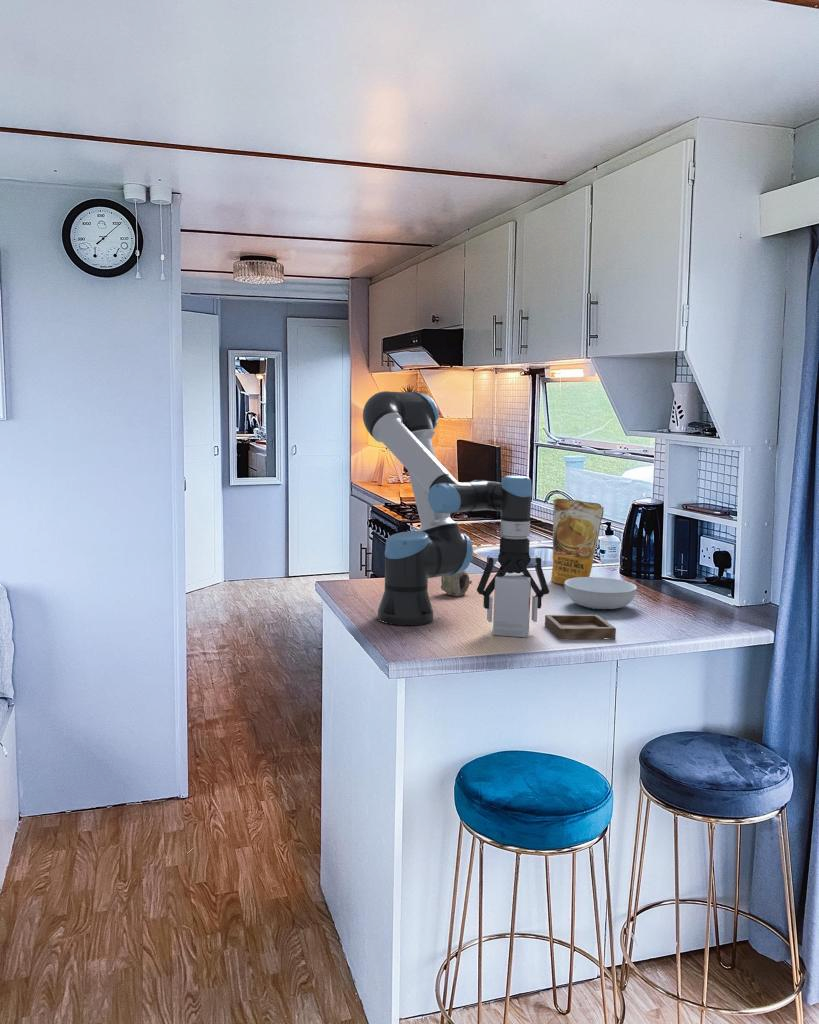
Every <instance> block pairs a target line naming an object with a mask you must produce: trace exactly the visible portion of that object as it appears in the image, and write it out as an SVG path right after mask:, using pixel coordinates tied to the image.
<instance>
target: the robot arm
mask: <svg viewBox="0 0 819 1024" xmlns="http://www.w3.org/2000/svg"><path fill="white" fill-rule="evenodd" d="M438 420H439V409H438V406H437V404H436V402H435V401H434V400H433V398H432V397H431V396H429V395H428V394H426V393H424V392H423V393H422V392H417V391H409V392H408V391H390V390H389V391H386V390H385V391H379V392H376V393H374V394H373V395H372V396H371V397H369V398H368V400H367V401H366V402H365V404H364V407H363V410H362V421H363V425H364V426H365V429H366V430H367V432H368V433H369V435H370V436H371V437H372V438H373V440H374V441H376V442H378V443H382V444H383V445H384V446H385V447H386V448H387V449H388V450H389V451H390V452H391V454H392V455H393V456H395V458H396V459H397V460H398V461H399V462H400V463H401V464H402V465H403V467H404V468H405V469H406V470H407V473H408V476H409V480H410V484H411V489H412V492H413V496H414V501H415V504H416V505H415V506H416V508H417V514H418V516H419V521H420V525H421V526H420V528H419V530H410V531H401V532H397V533H394V534H392V535H390V536H388V537H387V539H386V541H385V550H384V591H383V594H382V597H381V600H380V603H379V607H378V609H377V620H378V619H379V620H381V621H384V622H387V623H392V624H391V625H393V624H398V625H397V626H404V625H411V626H419V625H420V626H421V625H427V624H430V623H432V622H433V621H434V609H433V606H432V602H431V599H430V596H429V592H428V587H429V586H428V584H429V583H428V581H429V579H432V578H433V579H434V578H439V577H442V576H446V575H447V576H452V575H454V574H458V573H461V572H463V571H464V570H465V571H467V569H468V568H469V567H470V563H471V562H472V559H473V555H474V554H473V553H474V548H473V543H472V540H471V538H470V536H468V535H467V534H466V533H465V532H462V531H461V530H460V527H459V524H458V522H457V521H455V520H453V519H452V518H451V514H454V513H456V514H457V513H465V512H466V513H467V512H479V511H495V512H500V528H499V531H500V532H499V533H500V535H501V536H500V538H499V554H498V555H497V556H491V555H488V556H487V557H486V566H485V567H484V571H483V573H482V575H481V578H480V581H479V583H478V585H477V587H476V592H477V594H479V595H482V596H483V608H484V609H485V610H486V620H487V622H488V623H493V604H494V596H492V595H491V594H492V593H493V592H494V591H495V578H496V576H497V577H503V576H504V575H505V574H506V573H523V574H524V575H525V576H526V577H530V578H531V590H532V591H533V592H534V594H532V596H531V621H532V622H534V623H537V622H538V609H541V608H542V598H543V596H544V595H548V594H549V593H550V591H549V586H548V583H547V581H546V578H545V574H544V571H543V567H542V557H540V556H538V555H536V556H531V555H530V543H531V542H530V541H531V540H530V538H529V536H530V535H531V510H532V509H531V508H532V507H531V506H532V496H533V492H532V491H533V489H532V479H531V478H530V477H529V476H525V475H504V476H502V479H501V482H500V481H499V482H497V481H491V480H487V479H474V480H471V481H465V482H464V481H463V482H462V481H461V482H459V481H458V480H457V479H456V478H455V477H454V476H453V475H452V474H451V473H450V472H449V471H448V470H447V468H445V466H444V465H442V464H441V462H440V461H439V460H438V459H437V457H436V455H435V450H434V446H433V442H432V438H433V437H434V436H435V433H436V432H435V429H436V427H437V425H438V423H439V422H438ZM497 562H498V563H499V565H500V567H499V568H498V570H497V572H496V573H495V575H494V576H493V578H492V579H491V581H490V582H489V578H490V576H491V575H492V574H491V573H492V571H493V568H494V566H496V564H497ZM530 563H531V564H532V565H533V566H534V569H535V574H536V576H537V578H538V579H537V580H538V582H539V584H540V587H541V589H540V588H539V585H538V584H537V583H536V582H535V580H534V578H533V577H532V574H531V572H530V571H529V570H528V568H527V567H528V565H529V564H530ZM530 574H531V575H530ZM488 582H489V583H488ZM379 620H378V621H379ZM381 621H380V622H381ZM384 622H383V623H384ZM387 623H386V624H387Z"/></svg>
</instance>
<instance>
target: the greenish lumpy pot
mask: <svg viewBox="0 0 819 1024" xmlns="http://www.w3.org/2000/svg"><path fill="white" fill-rule="evenodd" d="M440 577H441V578H440V582H441V585H440V589H441V591H443V592H445V593H446V594H447V595H448V596H455V597H461V596H464V595H466V593H467V591H468V589H469V587H470V585H471V584H472V583H473V581H472V580H470V576H469V573H468V572H467V570H464V571H463V572H461V573H458V574H454V575H452V576H447V575H446V576H440Z"/></svg>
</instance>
